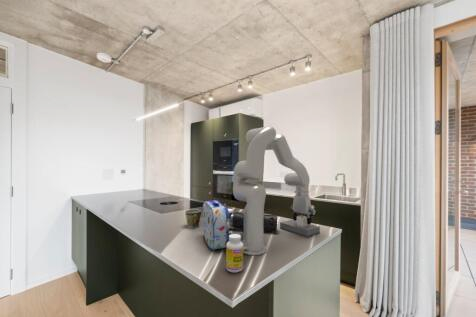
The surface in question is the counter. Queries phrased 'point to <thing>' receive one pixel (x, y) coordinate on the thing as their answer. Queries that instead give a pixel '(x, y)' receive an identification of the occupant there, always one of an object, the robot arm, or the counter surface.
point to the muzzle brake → (269, 221)
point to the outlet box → (300, 228)
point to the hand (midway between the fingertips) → (302, 222)
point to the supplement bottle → (234, 253)
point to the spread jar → (229, 218)
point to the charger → (302, 221)
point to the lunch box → (215, 224)
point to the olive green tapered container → (193, 218)
